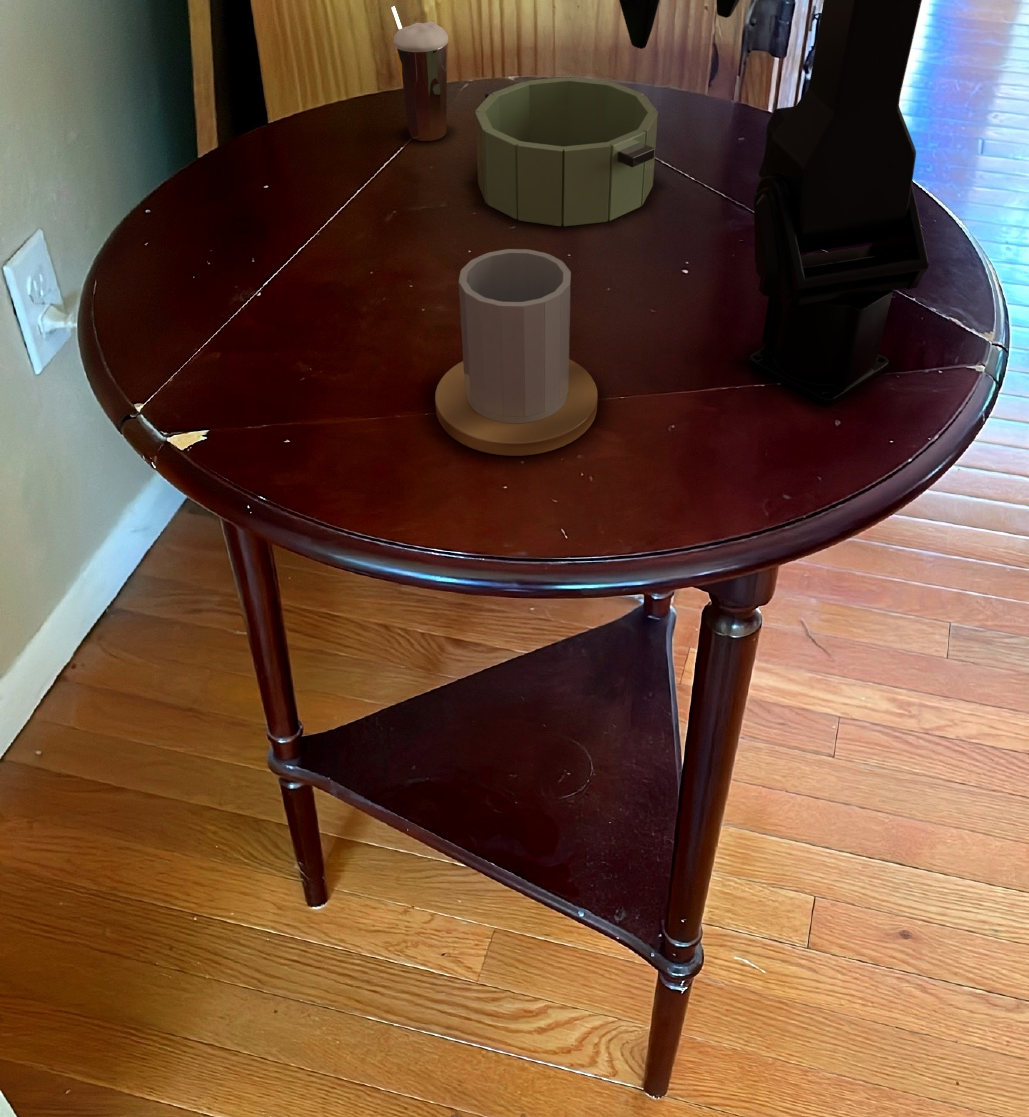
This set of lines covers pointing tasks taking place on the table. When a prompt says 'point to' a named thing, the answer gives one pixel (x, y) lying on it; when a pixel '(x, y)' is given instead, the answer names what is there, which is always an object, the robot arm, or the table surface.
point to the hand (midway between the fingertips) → (682, 31)
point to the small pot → (515, 334)
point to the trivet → (516, 436)
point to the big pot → (565, 150)
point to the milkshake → (423, 77)
